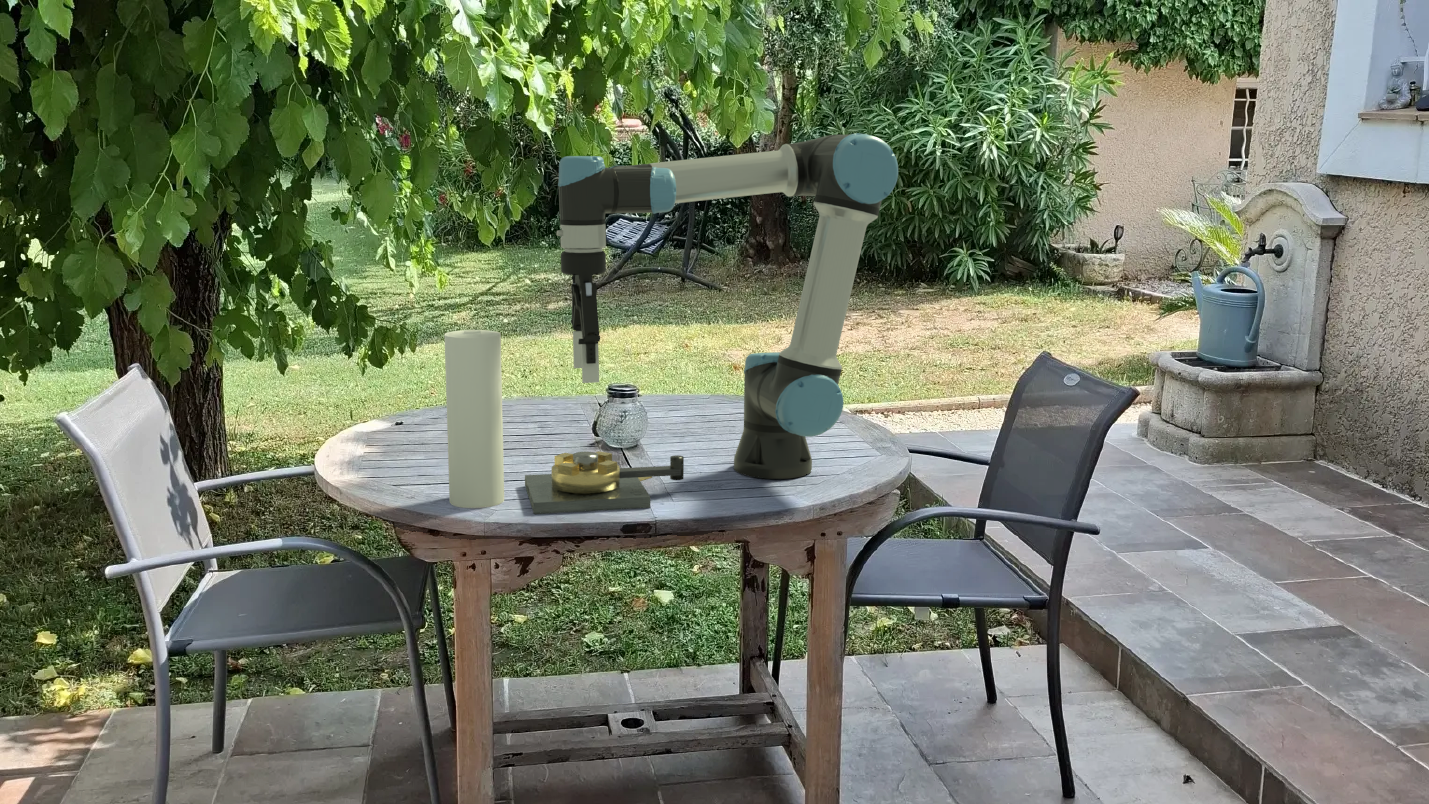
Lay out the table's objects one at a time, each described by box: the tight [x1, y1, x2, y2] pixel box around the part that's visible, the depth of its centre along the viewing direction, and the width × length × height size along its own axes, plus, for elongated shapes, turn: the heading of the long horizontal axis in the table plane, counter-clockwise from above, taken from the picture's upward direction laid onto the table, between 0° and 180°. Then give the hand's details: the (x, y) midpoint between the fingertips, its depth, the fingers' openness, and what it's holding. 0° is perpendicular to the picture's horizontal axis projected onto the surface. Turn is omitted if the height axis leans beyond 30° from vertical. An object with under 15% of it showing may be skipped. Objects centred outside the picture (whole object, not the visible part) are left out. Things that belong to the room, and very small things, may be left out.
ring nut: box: [551, 450, 685, 493], centre depth 218 cm, size 24×12×5 cm, turn 103°
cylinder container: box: [444, 329, 505, 509], centre depth 211 cm, size 9×9×30 cm
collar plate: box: [524, 473, 653, 515], centre depth 219 cm, size 24×21×2 cm
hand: (586, 375), depth 209 cm, fingers open, 13 cm apart
